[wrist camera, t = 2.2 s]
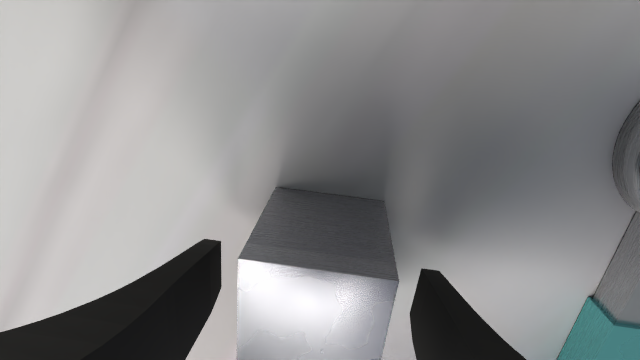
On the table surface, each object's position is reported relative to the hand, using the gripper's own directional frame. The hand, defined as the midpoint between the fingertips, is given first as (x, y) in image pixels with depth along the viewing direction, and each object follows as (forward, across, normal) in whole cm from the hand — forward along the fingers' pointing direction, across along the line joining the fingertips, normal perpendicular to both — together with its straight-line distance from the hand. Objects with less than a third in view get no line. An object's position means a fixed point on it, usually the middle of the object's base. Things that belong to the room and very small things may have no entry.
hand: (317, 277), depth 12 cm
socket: (+3, 0, 0) cm, 3 cm away
